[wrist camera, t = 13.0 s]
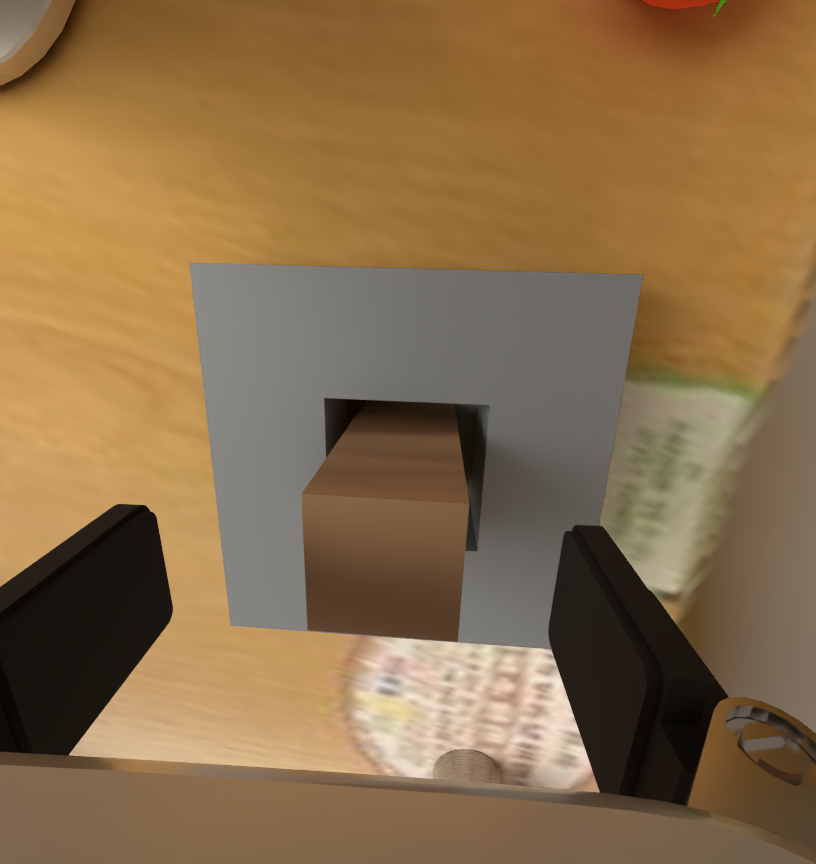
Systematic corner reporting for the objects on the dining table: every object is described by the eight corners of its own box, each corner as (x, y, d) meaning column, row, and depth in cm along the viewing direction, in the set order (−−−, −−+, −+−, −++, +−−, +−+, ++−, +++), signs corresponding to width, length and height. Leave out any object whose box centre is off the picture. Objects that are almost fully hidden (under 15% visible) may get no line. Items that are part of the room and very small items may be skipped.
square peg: (366, 399, 20) (301, 493, 10) (454, 403, 20) (469, 503, 10) (366, 480, 21) (307, 630, 12) (449, 484, 21) (458, 642, 11)
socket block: (240, 269, 19) (189, 262, 15) (599, 279, 18) (643, 274, 14) (265, 571, 23) (230, 625, 19) (552, 590, 22) (576, 650, 18)
